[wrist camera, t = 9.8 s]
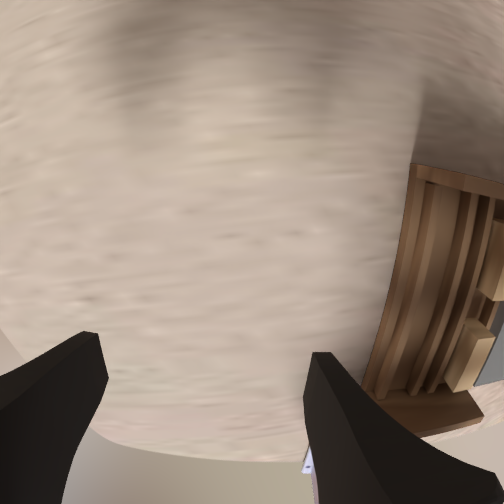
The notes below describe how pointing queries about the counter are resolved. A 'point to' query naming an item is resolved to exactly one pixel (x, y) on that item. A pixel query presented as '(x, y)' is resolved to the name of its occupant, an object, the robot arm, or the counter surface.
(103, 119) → the counter surface
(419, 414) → the rack
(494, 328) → the mat
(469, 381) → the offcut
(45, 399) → the robot arm
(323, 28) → the counter surface
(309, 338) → the counter surface
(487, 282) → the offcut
